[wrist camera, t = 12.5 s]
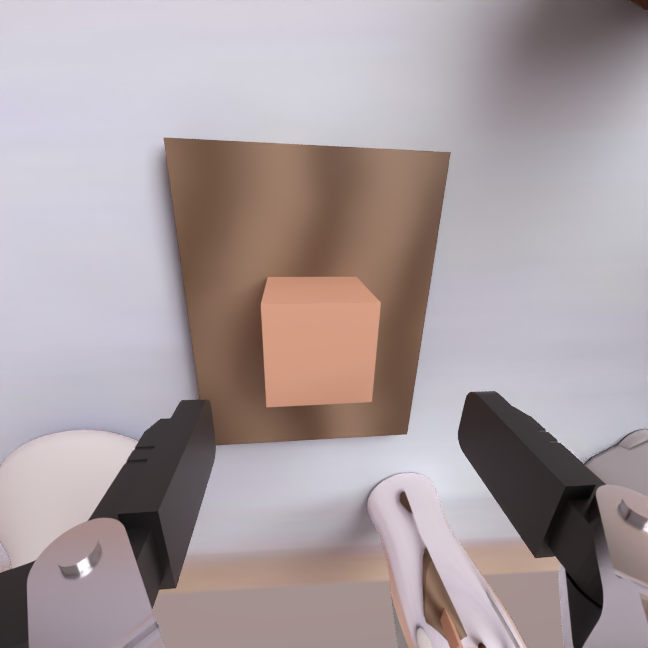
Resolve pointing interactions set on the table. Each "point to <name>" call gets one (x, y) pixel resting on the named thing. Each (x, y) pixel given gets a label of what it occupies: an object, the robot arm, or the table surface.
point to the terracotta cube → (318, 340)
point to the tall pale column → (624, 463)
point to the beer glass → (434, 573)
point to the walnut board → (302, 268)
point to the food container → (641, 3)
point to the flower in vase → (55, 487)
